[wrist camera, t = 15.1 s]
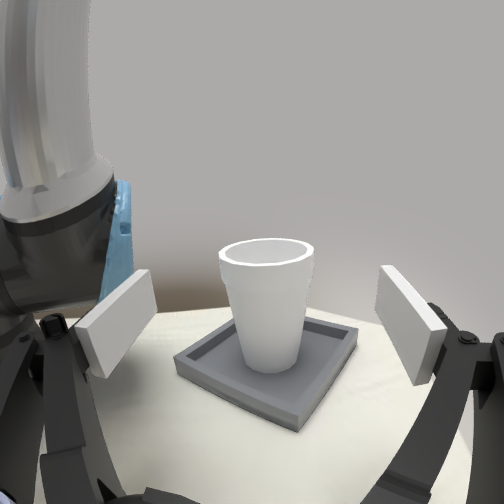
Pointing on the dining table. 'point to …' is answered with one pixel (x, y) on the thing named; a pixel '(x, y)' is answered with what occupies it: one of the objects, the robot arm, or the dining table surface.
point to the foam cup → (268, 298)
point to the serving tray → (270, 384)
